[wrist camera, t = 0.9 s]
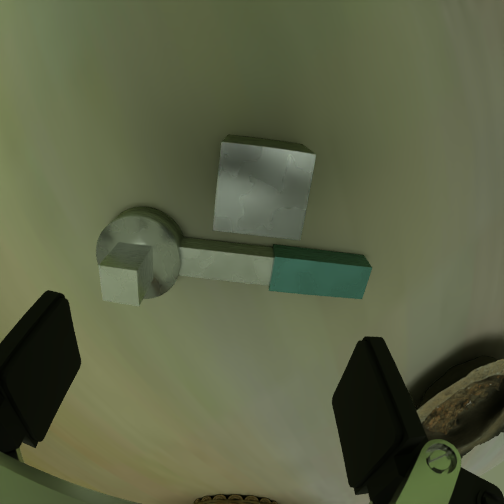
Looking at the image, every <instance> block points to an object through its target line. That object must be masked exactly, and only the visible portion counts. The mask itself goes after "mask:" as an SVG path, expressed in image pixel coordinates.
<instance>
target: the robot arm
mask: <svg viewBox="0 0 504 504" xmlns="http://www.w3.org/2000/svg"><path fill="white" fill-rule="evenodd" d="M80 365H81V358H80V354H79V349H78V345H77V341H76V336H75V332H74V327H73V322H72V317H71V312H70V306H69V302H68V300H67V299H65V296H64V295H63V294H62V293H58V292H54V291H49V290H48V291H46V292H45V293H44V294H43V295H42V296H41V297H40V298H39V299H38V300H37V301H36V302H35V303H34V305H33V306H32V307H31V308H30V309H29V310H28V311H27V312H26V314H25V315H24V316H23V317H22V318H21V319H20V320H19V322H18V323H17V324H16V325H15V326H14V328H13V329H12V330H11V331H10V332H9V333H8V335H7V336H6V337H5V338H4V340H3V341H2V342H1V343H0V504H140V503H136V502H132V501H128V500H124V499H121V498H117V497H113V496H110V495H106V494H103V493H100V492H97V491H93V490H90V489H87V488H84V487H81V486H79V485H76V484H73V483H70V482H68V481H65V480H62V479H60V478H57V477H55V476H52V475H50V474H48V473H45V472H43V471H41V470H38V469H36V468H34V467H31V466H29V465H27V464H25V463H24V461H23V458H22V454H21V451H20V445H21V443H22V442H23V443H25V444H27V445H30V446H32V447H34V448H36V446H37V444H38V442H41V441H42V440H43V439H44V437H45V435H46V433H47V431H48V429H49V427H50V425H51V423H52V421H53V419H54V417H55V415H56V413H57V411H58V409H59V407H60V405H61V403H62V401H63V399H64V397H65V395H66V393H67V391H68V389H69V387H70V385H71V383H72V382H73V380H74V378H75V376H76V374H77V372H78V370H79V368H80ZM332 405H333V410H334V414H335V419H336V424H337V428H338V433H339V438H340V443H341V447H342V452H343V457H344V462H345V467H346V472H347V477H348V483H349V485H350V487H354V491H355V495H359V494H366V493H369V497H370V502H369V504H504V497H503V494H502V492H501V491H500V489H499V488H498V487H497V486H495V485H494V484H492V483H489V482H488V481H486V480H484V479H482V478H480V477H478V476H476V475H474V474H472V473H471V472H469V471H467V470H465V469H463V468H461V456H460V454H459V452H458V450H457V449H456V448H455V447H454V445H452V444H451V443H449V442H448V441H445V440H442V439H435V440H431V441H428V438H427V435H426V433H425V430H424V428H423V426H422V423H421V421H420V418H419V416H418V414H417V411H416V409H415V407H414V404H413V402H412V400H411V397H410V395H409V393H408V391H407V388H406V386H405V384H404V382H403V379H402V377H401V375H400V373H399V371H398V368H397V366H396V364H395V362H394V360H393V358H392V356H391V353H390V351H389V349H388V347H387V345H386V343H385V341H384V339H383V338H382V337H368V336H366V337H364V338H363V340H362V341H358V342H357V344H356V347H355V349H354V351H353V354H352V356H351V358H350V360H349V363H348V365H347V367H346V369H345V371H344V373H343V376H342V378H341V380H340V382H339V384H338V386H337V388H336V390H335V392H334V395H333V398H332Z"/></svg>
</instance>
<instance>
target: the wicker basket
mask: <svg viewBox="0 0 504 504" xmlns="http://www.w3.org/2000/svg"><path fill="white" fill-rule="evenodd" d="M208 498H209V499H208ZM218 499H222V500H218ZM235 499H238V500H235ZM240 499H241V500H240ZM206 500H207V501H206ZM250 500H253V501H250ZM264 502H266V503H264ZM193 504H277V502H276V501H272V503H271V502H270V500H269V499H267V498H262V499H261V500H260V502H259V500H258V499H257V498H256V497H255V496H247V497H246V498H245V499H244V500H243V498H242V497H241V496H240V495H237V494H234V495H231V496H230V497H229V498H228V499H226V497H225V496H224V495H216V496H215V497H214V498H213V500H212V499H211V497H209V496H205V497H203V498H202V500H200V499H197V500H196V501H195V502H194V503H193Z"/></svg>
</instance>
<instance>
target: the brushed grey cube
mask: <svg viewBox="0 0 504 504" xmlns="http://www.w3.org/2000/svg"><path fill="white" fill-rule="evenodd" d="M315 158H316V154H315V153H313V152H312V151H311V150H309V149H308V148H307V147H305V146H304V145H303V144H297V143H291V142H284V141H277V140H270V139H263V138H255V137H246V136H238V135H227V137H226V138H225V139H224V140H223V141H222V142H221V151H220V160H219V170H218V180H217V190H216V201H215V212H214V223H213V230H214V231H223V232H232V233H240V234H249V235H258V236H266V237H275V238H283V239H291V240H300V239H301V234H302V229H303V224H304V219H305V214H306V208H307V203H308V197H309V192H310V186H311V181H312V175H313V170H314V164H315Z"/></svg>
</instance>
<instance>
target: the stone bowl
mask: <svg viewBox="0 0 504 504" xmlns="http://www.w3.org/2000/svg"><path fill="white" fill-rule="evenodd" d="M470 400H471V403H470V404H469V405H467V406H466V404H467V403H469V401H470ZM417 414H418V416H419V418H420V421H421V423H422V426H423V428H424V430H425V433H426V435H427V438H428V441H431V440H435V439H442V440H445V441H448V442H449V443H451V444H452V445H454V447H455V448H456V449H457V450H458V452H459V454H460V456H461V458H462V457H463V456H464V455H466V453H468V452H469V451H471V450H472V449H473V448H474V447H475V446H477V445H479V444H480V445H481V444H482V443H485V442H486V441H489V440H491V439H492V438H494V437H495V436H498V435H499V434H500V432H504V359H501V360H496V359H494V358H493V357H488V356H481V357H477V358H476V359H474V360H471V361H468V362H466V363H463V364H460V365H457V366H454V367H452V368H451V369H449V371H448V372H447V373H446V374H445V375H444V376H443V377H441V378H440V379H439V380H438V381H436V382H435V383H434V384H433V385H432V386H431V387H430V388H429V389H428V390H427V391H426V393H425V396H424V398H423V400H422V402H421V403H420V405H419V407H418V409H417Z"/></svg>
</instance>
